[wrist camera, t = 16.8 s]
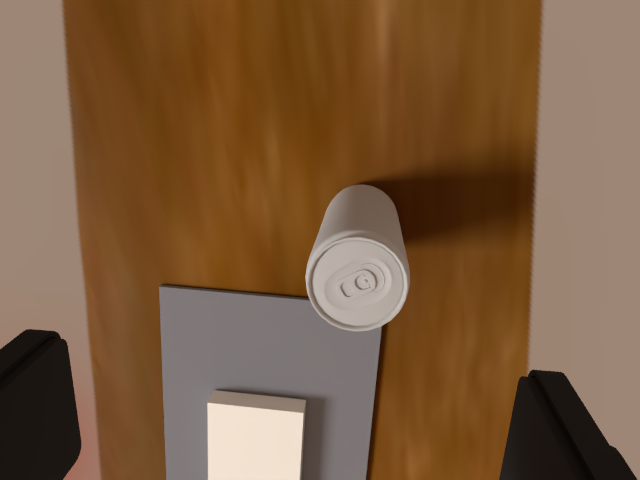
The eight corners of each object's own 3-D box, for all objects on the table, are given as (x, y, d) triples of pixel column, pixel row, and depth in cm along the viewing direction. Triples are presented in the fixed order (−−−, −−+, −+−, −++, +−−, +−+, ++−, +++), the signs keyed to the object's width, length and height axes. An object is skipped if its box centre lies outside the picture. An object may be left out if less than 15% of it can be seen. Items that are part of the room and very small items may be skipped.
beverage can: (409, 233, 34) (430, 308, 23) (346, 263, 35) (335, 350, 24) (376, 169, 33) (381, 215, 22) (312, 203, 34) (283, 263, 23)
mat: (161, 284, 37) (159, 286, 37) (383, 304, 36) (383, 307, 36) (169, 506, 43) (167, 509, 43) (360, 529, 42) (360, 533, 42)
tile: (207, 402, 37) (208, 502, 40) (303, 413, 37) (297, 513, 39) (214, 388, 39) (214, 485, 41) (306, 398, 38) (300, 495, 41)
